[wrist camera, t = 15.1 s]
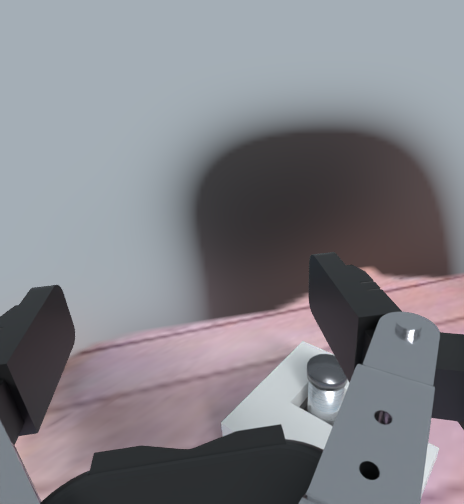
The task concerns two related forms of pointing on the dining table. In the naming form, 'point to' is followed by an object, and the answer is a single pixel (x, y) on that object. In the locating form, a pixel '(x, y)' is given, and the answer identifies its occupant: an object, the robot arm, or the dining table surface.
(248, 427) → the clevis bracket
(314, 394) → the clevis pin
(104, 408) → the dining table surface
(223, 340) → the dining table surface
